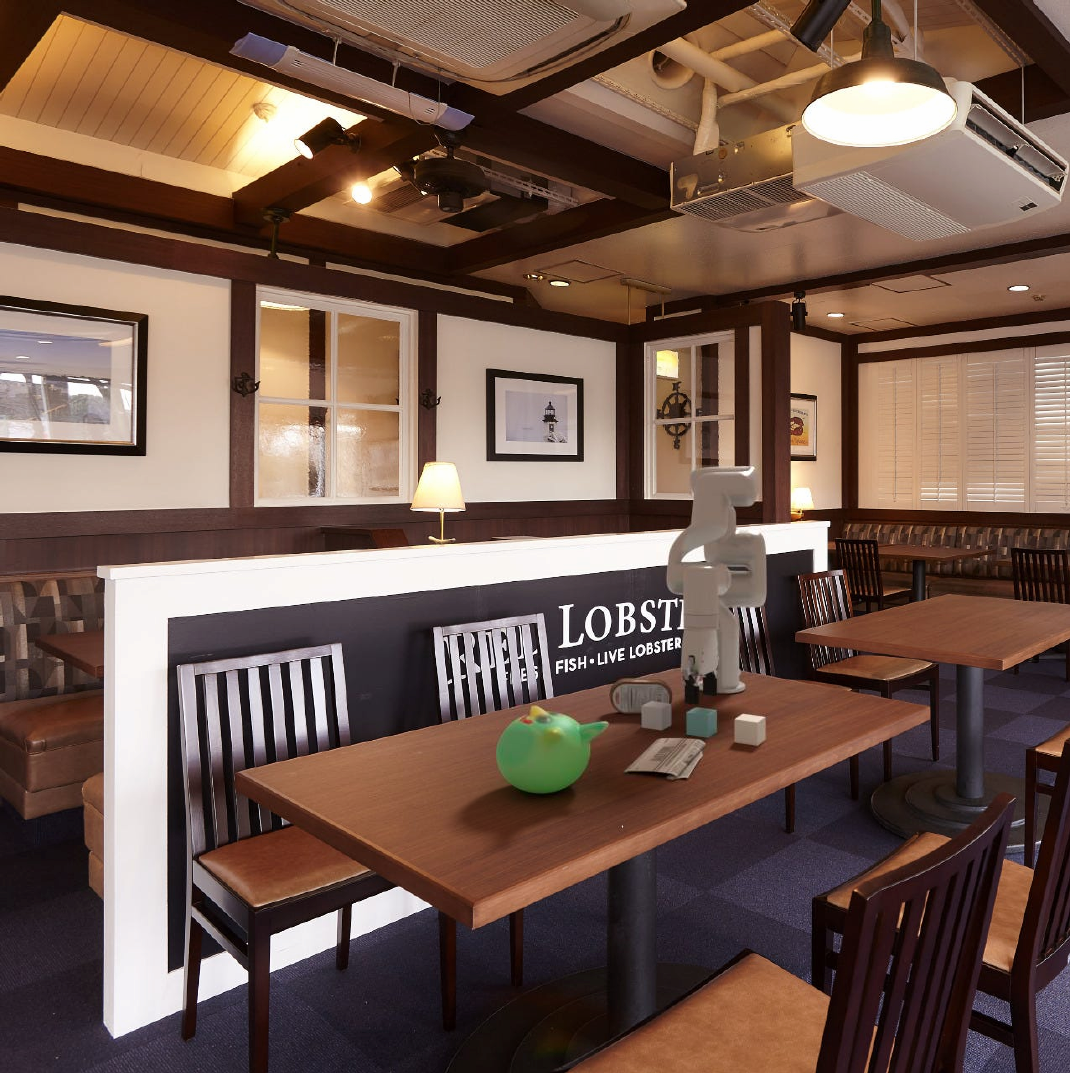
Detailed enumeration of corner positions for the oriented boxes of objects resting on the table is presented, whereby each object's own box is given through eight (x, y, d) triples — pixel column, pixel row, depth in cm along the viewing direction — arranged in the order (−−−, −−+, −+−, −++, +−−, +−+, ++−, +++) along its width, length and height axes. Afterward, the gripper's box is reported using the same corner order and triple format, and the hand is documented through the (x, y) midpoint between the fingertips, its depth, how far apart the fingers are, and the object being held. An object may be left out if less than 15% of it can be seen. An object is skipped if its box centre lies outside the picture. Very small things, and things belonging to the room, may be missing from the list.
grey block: (651, 722, 197) (651, 701, 197) (671, 725, 194) (671, 703, 194) (641, 727, 193) (641, 706, 193) (661, 730, 190) (661, 708, 190)
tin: (672, 712, 206) (672, 677, 205) (673, 715, 202) (672, 680, 202) (609, 711, 207) (609, 677, 207) (609, 715, 204) (609, 680, 203)
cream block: (743, 736, 185) (742, 713, 184) (765, 740, 182) (765, 717, 182) (734, 742, 181) (734, 719, 180) (757, 746, 178) (757, 722, 178)
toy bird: (541, 767, 167) (540, 693, 166) (613, 785, 156) (612, 706, 155) (478, 794, 153) (476, 713, 152) (552, 815, 142) (551, 729, 141)
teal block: (695, 729, 191) (695, 707, 191) (716, 732, 188) (716, 710, 188) (686, 734, 187) (686, 712, 186) (708, 738, 184) (707, 715, 184)
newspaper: (686, 785, 157) (685, 772, 157) (624, 783, 162) (623, 770, 162) (715, 749, 178) (714, 737, 177) (659, 748, 183) (657, 736, 183)
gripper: (700, 616, 195) (700, 690, 196) (668, 625, 181) (668, 705, 181) (731, 618, 191) (732, 694, 191) (701, 627, 177) (701, 709, 177)
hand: (701, 699), depth 186 cm, fingers open, 9 cm apart
